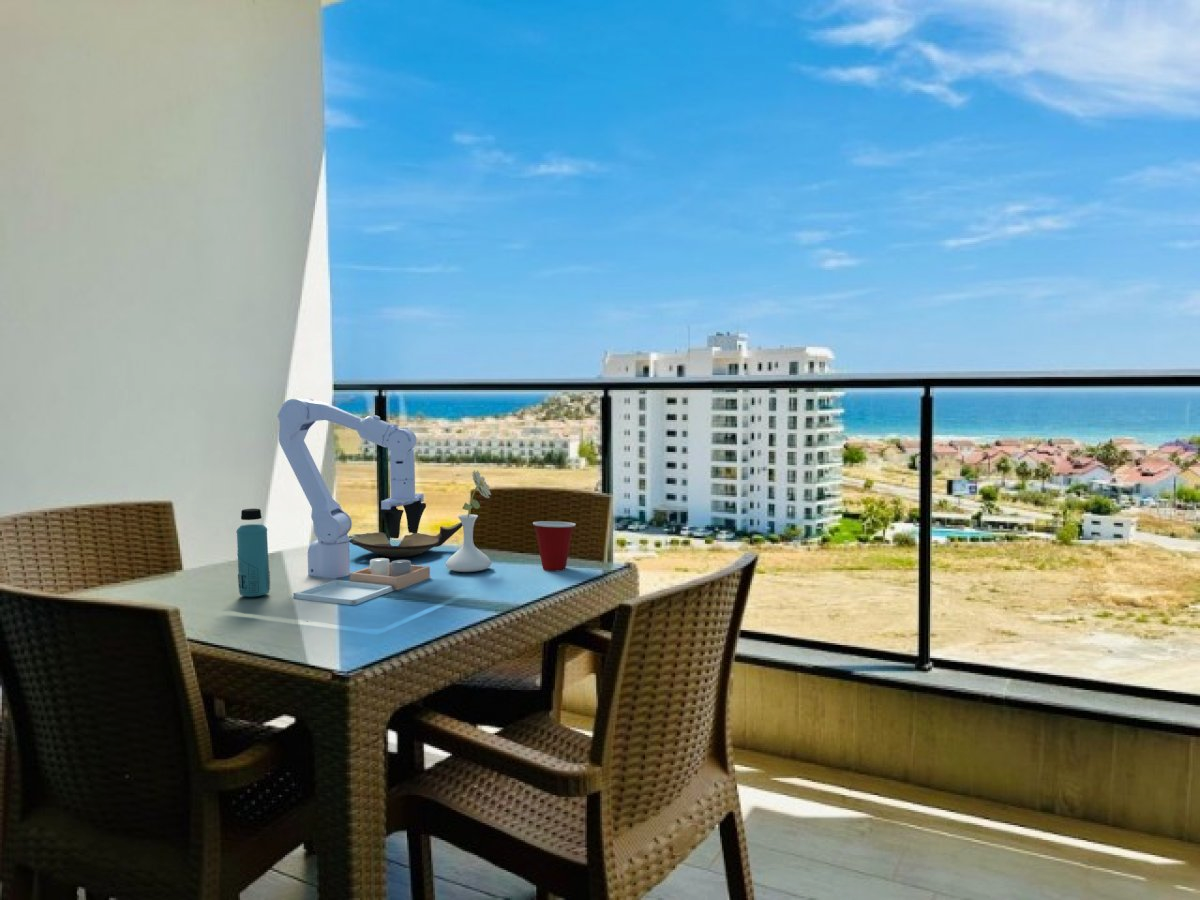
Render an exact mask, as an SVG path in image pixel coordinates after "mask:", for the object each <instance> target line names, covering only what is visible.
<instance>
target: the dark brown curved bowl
mask: <svg viewBox="0 0 1200 900" xmlns="http://www.w3.org/2000/svg"><path fill="white" fill-rule="evenodd" d="M461 528H463V526H462V523H461V521H460V522H457V523H456V524H454V525H451V526H448V527H447V526H443V525H441V526H440V527H439V533H438V534H437V535H430V534H427V533H426V534H425V533H420V532H417V533H410V534H404V537H402V540H401V541H400V543H399V544H398V545H392V544H391V543H390V541H389V539H388V537H387V534H386V533H385V532H367V533H366V532H365V533H362V534H358V535H356V536H354V537H353V538H351V539H350V538H349V544H352V545H353V546H356V547H359V548H361V549H364V551H365V550H366V551H368V552H370V553H374V554H376V555H380V556H383V557H390V558H409V557H413V556H417V555H419V554H423V553H425V552H427V551H429V550H432V549H433V548H437V547H442V545H444V544H445V542H447V541H448V540H449V539H450V538H451V537H452V536H453V535H454V534H455V533H457V532H458V531H459V530H460V529H461Z"/></svg>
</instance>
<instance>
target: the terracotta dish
mask: <svg viewBox="0 0 1200 900" xmlns="http://www.w3.org/2000/svg"><path fill="white" fill-rule="evenodd" d="M389 573H390V576H382V575H372V574H370V566H369V567H364V568H363V569H359V570H356V571H353V572H350V575H349V581H353V582H363V583H372V584H382V585H392V586H394V591H399V590H401V589H405V588H407V587H409V586H412V585H415V584H418V583H420V582H423V581H426V580H428V579H429V580H430V579H431V567H430V566H429V565H428V566H426V565H418V564H417V565H416V564H415V565H414V564H411V572H409V573H406V574H403V575H400V576H398V577H392V572H391V562H389Z"/></svg>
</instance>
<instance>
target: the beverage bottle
mask: <svg viewBox="0 0 1200 900" xmlns="http://www.w3.org/2000/svg"><path fill="white" fill-rule="evenodd" d="M240 513H241V515H240V519H241V520H242V521H253V520H254V521H255V520H256V521H257V520H260V519H262V510H261V509H260V508H245V509H242V510H241V512H240ZM236 540H237V541H236V543H237V545H236V546H237V553H236V554H237V568H238V569H237V571H238V573H237V583H238V592H239V595H240V596H242V597H260V596H263V595H267V594H269V593H270V590H271V574H270V573H271V571H270V560H269V559H270V558H269V546H268V545H269V543H268V527H266V525H264V524H262V523H257V522H253V523H251V522H250V523H244V524H241V525H240V526H239V527H238V528H237V529H236Z"/></svg>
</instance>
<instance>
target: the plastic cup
mask: <svg viewBox="0 0 1200 900" xmlns="http://www.w3.org/2000/svg"><path fill="white" fill-rule="evenodd" d="M532 524H533V527H534V529H535V534H536V539H537V545H538V551H539V556H540V561H541V566H542V569H544V571H546V570H548V572H557V571H556V570H561V571H564V570H565V569H566V568H567V562H568V557H569V552H570V548H571V547H570V546H571V541H572V540H571V539H572V536H573V531H574V528H575V527H576V525H577V524H576V522H575V523H574V522H571V521H570V522H569V521H555V520H554V521H553V520H552V521H551V520H550V521H549V520H547V521H546V520H545V521H533V522H532ZM563 569H564V570H563Z"/></svg>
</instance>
